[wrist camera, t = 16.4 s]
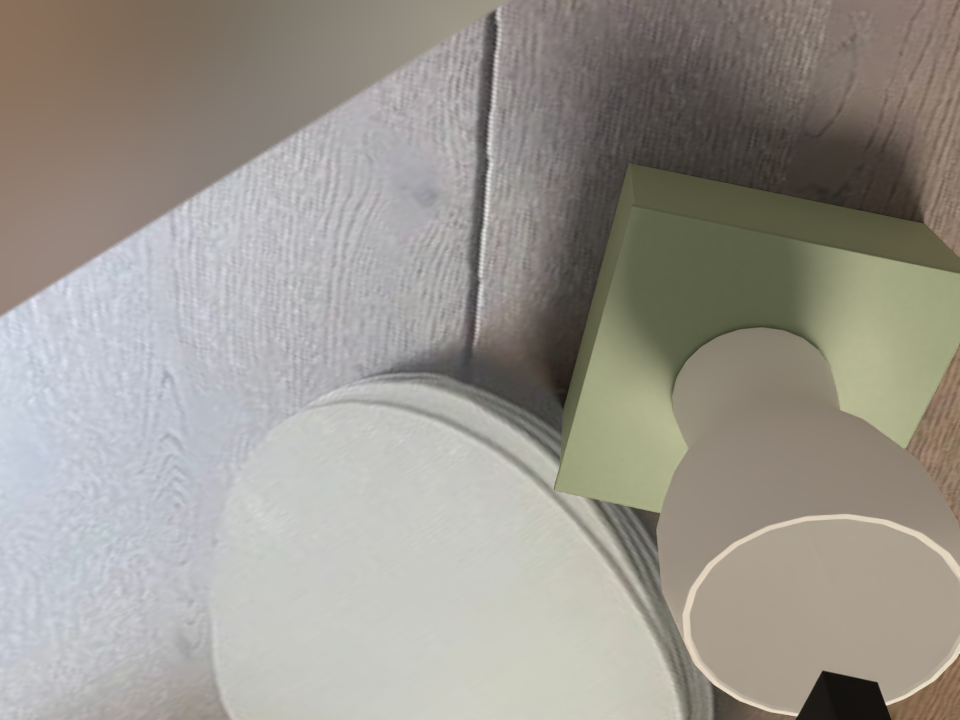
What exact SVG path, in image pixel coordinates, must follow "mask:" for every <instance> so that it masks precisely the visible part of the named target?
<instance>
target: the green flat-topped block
mask: <svg viewBox="0 0 960 720" xmlns="http://www.w3.org/2000/svg"><path fill="white" fill-rule="evenodd" d="M760 327H764V328H771V329H778V330H784V331H787V332H789V333H792V334H794V335H797V336H799V337H802V338H804V339H805V340H806V341H808V342H809V343H810V344H812V345H813V346H814V347H816V348H817V349H818V350H819V351H820V352H821V354H822V355H823V356H824V358H825V359H826V361H827V362H828V363H829V365H830V368H831V371H832V374H833V378H834V381H835V384H836V388H837V392H838V396H839V403H840V410H842V411H844V412H847V413H849V414H852V415H854V416H857V417H859V418H862V419H864V420H865V421H867V422H868V423H869V424H871V425H872V426H874V427H875V428H876V429H878V430H879V431H880V432H882V433H883V434H885V435H886V436H887V437H889V438H890V439H891V440H893V441H894V442H895V443H897V444H898V445H899V446H901V447H902V448H903V449H906V447H907V445H908V443H909V441H910V439H911V437H912V436H913V434H914V432H915V430H916V428H917V426H918V424H919V422H920V420H921V418H922V416H923V414H924V412H925V410H926V408H927V407H928V405H929V403H930V401H931V399H932V397H933V395H934V393H935V391H936V389H937V387H938V385H939V383H940V381H941V380H942V378H943V376H944V374H945V372H946V370H947V368H948V366H949V364H950V362H951V360H952V358H953V356H954V354H955V352H956V351H957V349H958V347H959V345H960V258H959V257H958V256H957V255H956V254H955V253H954V252H953V251H952V250H951V249H950V248H949V247H948V246H947V245H946V244H945V243H944V242H943V241H942V240H941V239H940V238H939V237H938V236H937V235H936V234H935V233H934V232H933V231H932V230H931V229H930V228H929V227H928V226H927V225H926V224H924V223H919V222H914V221H909V220H904V219H899V218H894V217H889V216H885V215H880V214H875V213H870V212H865V211H860V210H855V209H850V208H846V207H841V206H836V205H831V204H826V203H821V202H816V201H812V200H807V199H802V198H797V197H792V196H787V195H782V194H777V193H773V192H768V191H763V190H758V189H753V188H748V187H743V186H738V185H734V184H729V183H724V182H719V181H714V180H709V179H704V178H699V177H695V176H690V175H685V174H680V173H675V172H670V171H665V170H660V169H656V168H651V167H646V166H641V165H636V164H631V163H629V164H628V167H627V171H626V175H625V178H624V182H623V186H622V190H621V193H620V197H619V201H618V205H617V209H616V212H615V216H614V220H613V224H612V227H611V231H610V235H609V239H608V243H607V246H606V250H605V254H604V258H603V261H602V265H601V269H600V273H599V277H598V280H597V284H596V288H595V292H594V296H593V299H592V303H591V307H590V311H589V314H588V318H587V322H586V326H585V330H584V333H583V337H582V341H581V345H580V348H579V352H578V356H577V360H576V364H575V367H574V371H573V375H572V379H571V382H570V386H569V390H568V394H567V398H566V401H565V405H564V409H563V421H562V438H561V455H560V467H559V471H558V474H557V478H556V482H555V485H554V490H555V491H559V492H564V493H568V494H573V495H578V496H582V497H587V498H592V499H597V500H601V501H606V502H611V503H615V504H620V505H625V506H629V507H634V508H639V509H644V510H648V511H653V512H658V513H661V510H662V506H663V502H664V499H665V496H666V493H667V491H668V488H669V485H670V482H671V479H672V477H673V474H674V472H675V470H676V468H677V467H678V465H679V464H680V462H681V460H682V459H683V457H684V456H685V454H686V452H687V451H688V447H687V445H686V443H685V441H684V439H683V436H682V434H681V431H680V429H679V427H678V424H677V421H676V419H675V416H674V413H673V401H672V394H673V390H674V386H675V382H676V378H677V376H678V374H679V373H680V371H681V369H682V367H683V366H684V364H685V362H686V361H687V360H688V359H689V358H690V357H691V356H692V355H693V354H694V353H695V352H696V351H697V350H698V349H699V348H700V347H702V346H703V345H705V344H707V343H708V342H710V341H712V340H713V339H715V338H717V337H718V336H721V335H724V334H727V333H730V332H733V331H736V330H739V329H749V328H760Z"/></svg>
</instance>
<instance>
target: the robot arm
mask: <svg viewBox="0 0 960 720" xmlns="http://www.w3.org/2000/svg"><path fill="white" fill-rule="evenodd" d="M796 720H891V718H890V715H889V712H888V709H887V707H886V704H885V701H884V698H883V696H882V693H881V690H880V687H879V685H878V682H874V681H870V680H865V679H860V678H856V677H851V676H847V675H842V674H837V673H833V672H828V671H823V670H822V672H821V674H820V676H819V678H818V680H817V681H816V683H815V685H814V687H813V689H812V691H811V693H810V694H809V696H808V698H807V700H806V702H805V704H804V705H803V707H802V709H801V711H800V713H799V715H798V716H797V718H796Z"/></svg>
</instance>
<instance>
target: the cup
mask: <svg viewBox="0 0 960 720" xmlns="http://www.w3.org/2000/svg"><path fill="white" fill-rule="evenodd" d="M672 401H673V413H674V416H675V419H676V421H677V424H678V427H679V429H680V431H681V434H682V436H683V439H684V441H685V443H686V445H687V447H688V451H687V452H686V454H685V456H684V457H683V459H682V460H681V462H680V464H679V465H678V467H677V468H676V470H675V472H674V474H673V477H672V479H671V482H670V485H669V488H668V491H667V493H666V496H665V499H664V502H663V506H662V510H661V514H660V517H659V521H658V525H657V541H658V552H659V563H660V574H661V585H662V593H663V595H664V597H665V600H666V602H667V604H668V607H669V609H670V611H671V613H672V616H673V618H674V620H675V623H676V625H677V627H678V630H679V632H680V634H681V636H682V639H683V641H684V643H685V645H686V647H687V650H688V652H689V654H690V656H691V658H692V661H693V663H694V664H695V665H696V666H697V667H698V668H699V669H700V670H701V671H702V672H703V673H704V675H705V676H706V677H707V678H708V679H709V680H710V681H711V682H712V683H713V684H714V685H715V686H717V687H718V688H720V689H722V690H723V691H725V692H726V693H728V694H729V695H731V696H733V697H734V698H736V699H737V700H739V701H741V702H744V703H747V704H750V705H752V706H755V707H758V708H760V709H763V710H766V711H769V712H774V713H780V714H786V715H792V716H798V715H799V713H800V711H801V709H802V707H803V705H804V704H805V702H806V700H807V698H808V696H809V694H810V693H811V691H812V689H813V687H814V685H815V683H816V681H817V680H818V678H819V676H820V674H821V672H822V670H823V671H828V672H833V673H837V674H842V675H847V676H851V677H856V678H860V679H865V680H870V681H874V682H878V685H879V687H880V690H881V693H882V696H883V698H884V701H885V704H886V706H887V705H889V704H892V703H895V702H897V701H900V700H903V699H905V698H907V697H909V696H911V695H912V694H914V693H915V692H917V691H919V690H920V689H922V688H923V687H925V686H927V685H928V684H930V683H931V682H933V681H935V680H936V679H937V678H938V677H939V676H940V675H941V674H942V673H943V672H944V671H945V670H946V669H947V668H948V667H949V666H950V665H951V664H952V663H953V661H954V660H955V659H956V658H957V657H958V655H959V653H960V528H959V524H958V521H957V519H956V517H955V516H954V514H953V512H952V511H951V509H950V507H949V505H948V504H947V502H946V500H945V499H944V497H943V495H942V494H941V492H940V490H939V489H938V487H937V485H936V484H935V482H934V481H933V480H932V478H931V477H930V475H929V474H928V472H927V471H926V470H925V468H924V467H923V465H922V464H921V462H920V461H919V460H918V459H917V458H915V457H914V456H913V455H911V454H910V453H909V452H907V451H906V450H905V449H903V448H902V447H901V446H899V445H898V444H897V443H895V442H894V441H893V440H891V439H890V438H889V437H887V436H886V435H885V434H883V433H882V432H880V431H879V430H878V429H876V428H875V427H874V426H872V425H871V424H869V423H868V422H867V421H865V420H864V419H862V418H859V417H857V416H854V415H852V414H849V413H847V412H844V411H842V410H840V403H839V396H838V392H837V388H836V384H835V381H834V378H833V374H832V371H831V368H830V365H829V363H828V362H827V361H826V359H825V358H824V356H823V355H822V354H821V352H820V351H819V350H818V349H817V348H816V347H814V346H813V345H812V344H810V343H809V342H808V341H806V340H805V339H804V338H802V337H799V336H797V335H794V334H792V333H789V332H787V331H784V330H778V329H771V328H764V327H760V328H749V329H739V330H736V331H733V332H730V333H727V334H724V335H721V336H718V337H717V338H715V339H713V340H712V341H710V342H708V343H707V344H705V345H703V346H702V347H700V348H699V349H698V350H697V351H696V352H695V353H694V354H693V355H692V356H691V357H690V358H689V359H688V360H687V361H686V362H685V364H684V366H683V367H682V369H681V371H680V373H679V374H678V376H677V378H676V382H675V386H674V390H673V394H672Z"/></svg>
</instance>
